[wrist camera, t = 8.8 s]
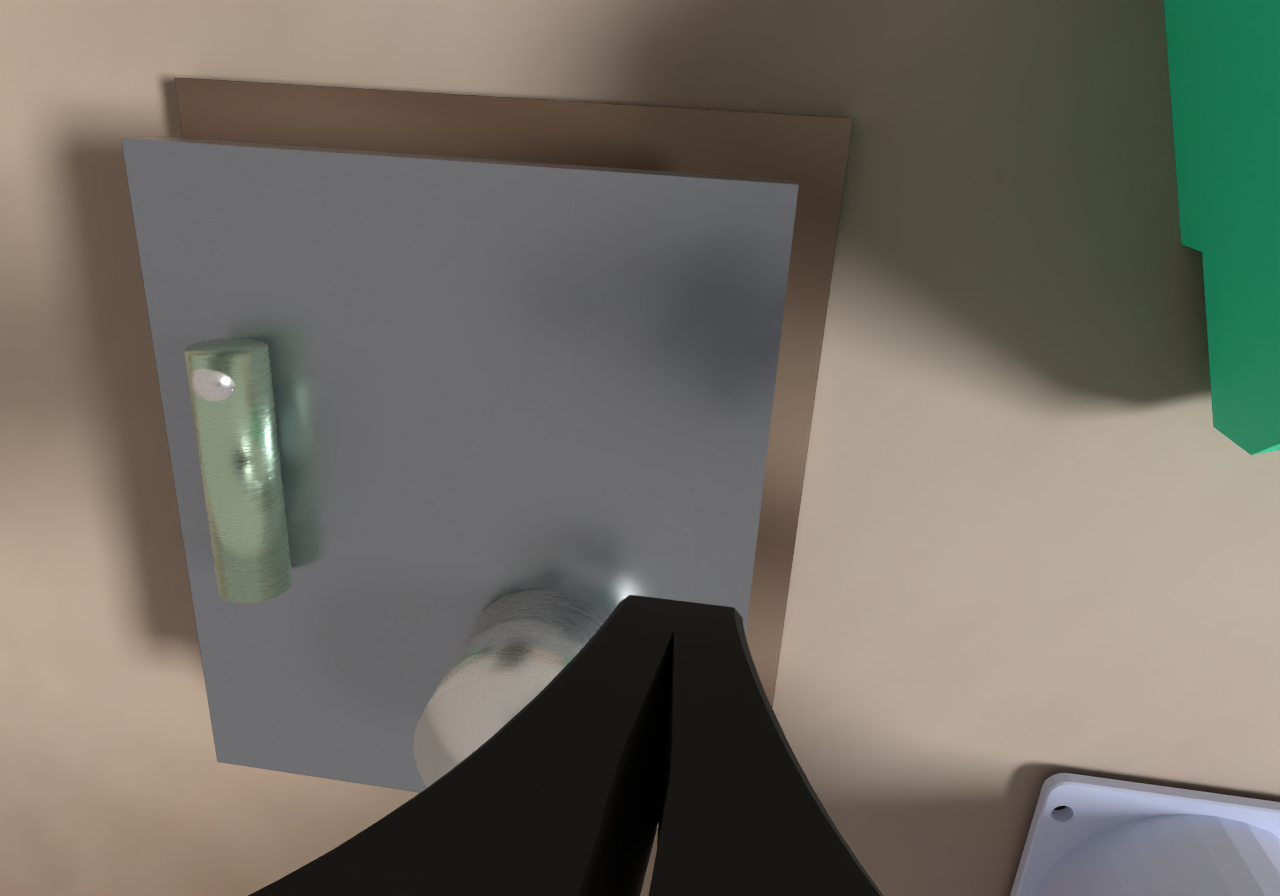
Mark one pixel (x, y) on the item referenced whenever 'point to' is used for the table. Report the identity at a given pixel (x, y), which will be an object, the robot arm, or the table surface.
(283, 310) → the level plate
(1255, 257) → the camera mount
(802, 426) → the stand base
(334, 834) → the table surface
